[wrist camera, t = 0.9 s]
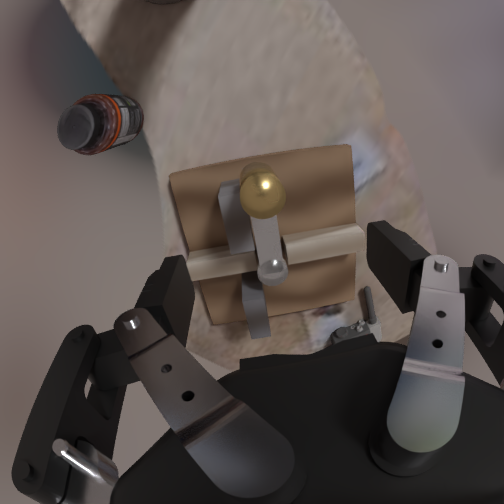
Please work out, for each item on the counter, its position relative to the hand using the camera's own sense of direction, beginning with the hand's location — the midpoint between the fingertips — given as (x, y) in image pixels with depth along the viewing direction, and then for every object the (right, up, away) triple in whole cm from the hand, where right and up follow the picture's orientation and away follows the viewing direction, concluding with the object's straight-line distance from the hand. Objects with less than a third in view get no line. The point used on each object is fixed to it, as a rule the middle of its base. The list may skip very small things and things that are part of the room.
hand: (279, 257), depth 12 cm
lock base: (+2, +2, +24) cm, 24 cm away
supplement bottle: (-16, +16, +16) cm, 28 cm away
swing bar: (0, +3, +16) cm, 17 cm away
